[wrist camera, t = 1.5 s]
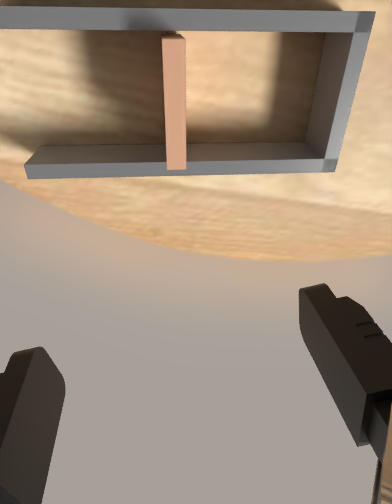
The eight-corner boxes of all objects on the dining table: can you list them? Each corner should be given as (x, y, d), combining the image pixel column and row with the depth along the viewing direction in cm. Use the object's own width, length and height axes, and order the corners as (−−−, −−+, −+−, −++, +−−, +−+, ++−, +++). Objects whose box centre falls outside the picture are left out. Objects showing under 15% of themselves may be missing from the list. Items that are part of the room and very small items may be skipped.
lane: (6, 7, 21) (-23, 5, 18) (344, 11, 22) (375, 11, 19) (44, 158, 26) (27, 179, 23) (314, 153, 28) (334, 172, 25)
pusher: (161, 33, 22) (161, 39, 17) (179, 34, 22) (185, 39, 17) (165, 140, 26) (167, 169, 21) (181, 140, 26) (186, 169, 21)
